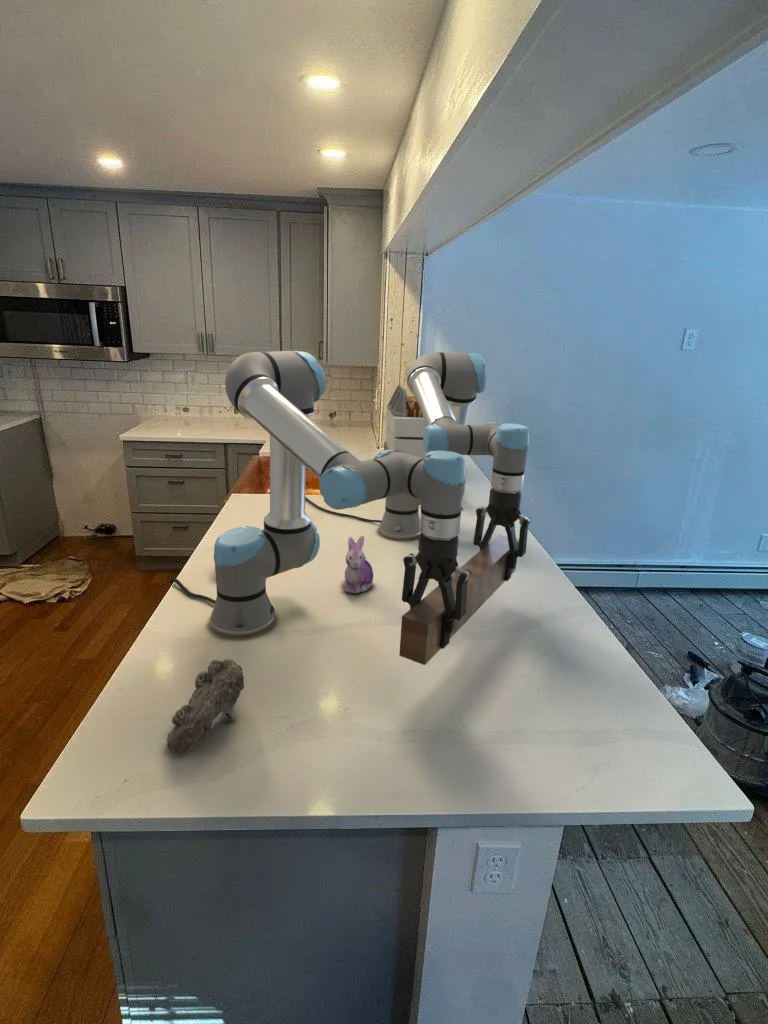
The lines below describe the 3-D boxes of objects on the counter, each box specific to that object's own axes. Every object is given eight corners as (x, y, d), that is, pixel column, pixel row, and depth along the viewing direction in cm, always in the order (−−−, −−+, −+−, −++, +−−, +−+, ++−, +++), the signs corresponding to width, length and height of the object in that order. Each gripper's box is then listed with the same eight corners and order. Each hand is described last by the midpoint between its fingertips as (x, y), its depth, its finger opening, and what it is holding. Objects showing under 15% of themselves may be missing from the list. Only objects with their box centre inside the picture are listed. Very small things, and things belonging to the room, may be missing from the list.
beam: (495, 564, 152) (499, 534, 149) (515, 570, 150) (519, 539, 147) (399, 655, 110) (401, 616, 107) (424, 665, 107) (428, 625, 104)
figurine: (350, 597, 154) (351, 546, 149) (335, 581, 163) (336, 533, 158) (381, 591, 159) (383, 541, 153) (365, 576, 167) (367, 528, 162)
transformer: (382, 463, 289) (386, 382, 275) (445, 464, 293) (451, 384, 279) (390, 482, 257) (394, 392, 243) (460, 483, 261) (468, 394, 247)
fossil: (192, 660, 117) (244, 628, 112) (224, 691, 120) (276, 661, 115) (142, 746, 98) (202, 712, 93) (182, 779, 101) (242, 748, 96)
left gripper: (386, 528, 108) (381, 633, 116) (477, 552, 99) (464, 664, 107) (406, 517, 114) (400, 618, 122) (493, 539, 105) (480, 646, 113)
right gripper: (464, 485, 138) (456, 571, 146) (539, 501, 129) (526, 591, 137) (476, 478, 144) (468, 561, 152) (549, 493, 135) (536, 580, 143)
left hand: (430, 639), depth 115 cm, fingers closed on beam, 6 cm apart
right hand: (495, 575), depth 145 cm, fingers closed on beam, 6 cm apart
